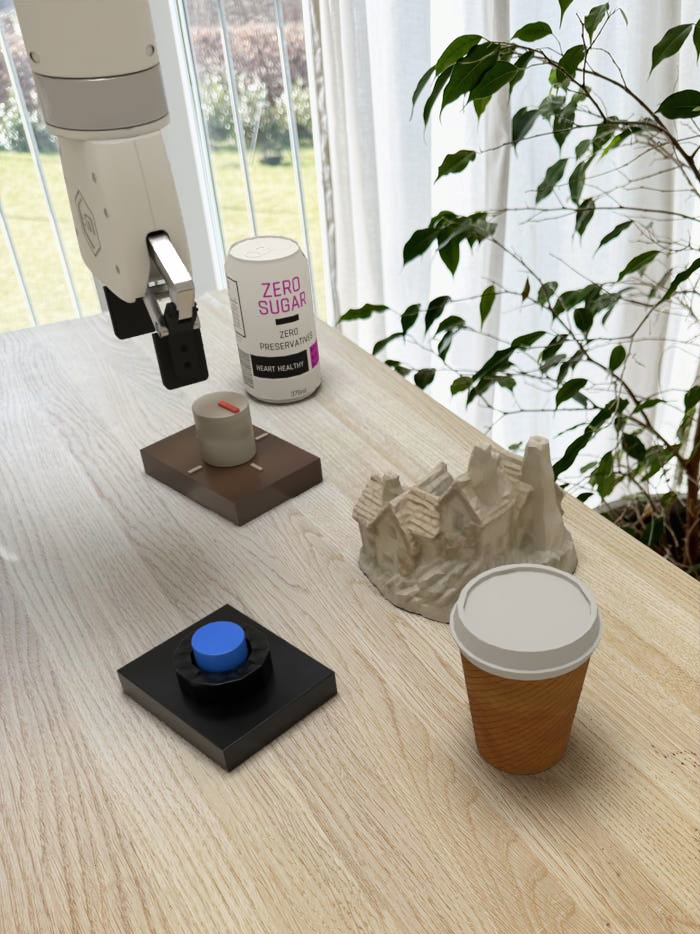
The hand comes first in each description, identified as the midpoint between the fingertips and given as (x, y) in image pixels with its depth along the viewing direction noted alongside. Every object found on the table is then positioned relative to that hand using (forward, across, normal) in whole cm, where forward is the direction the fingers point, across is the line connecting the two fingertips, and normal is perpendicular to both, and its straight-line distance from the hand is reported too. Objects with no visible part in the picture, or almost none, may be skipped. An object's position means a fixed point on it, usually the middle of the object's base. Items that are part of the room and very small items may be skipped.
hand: (161, 358), depth 73 cm
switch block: (+18, +17, -5) cm, 25 cm away
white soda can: (+18, -24, +19) cm, 36 cm away
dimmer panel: (+18, -10, +7) cm, 22 cm away
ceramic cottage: (+18, +14, +18) cm, 29 cm away
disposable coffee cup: (+18, +32, +10) cm, 38 cm away
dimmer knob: (+15, -11, +7) cm, 20 cm away
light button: (+14, +17, -5) cm, 23 cm away
